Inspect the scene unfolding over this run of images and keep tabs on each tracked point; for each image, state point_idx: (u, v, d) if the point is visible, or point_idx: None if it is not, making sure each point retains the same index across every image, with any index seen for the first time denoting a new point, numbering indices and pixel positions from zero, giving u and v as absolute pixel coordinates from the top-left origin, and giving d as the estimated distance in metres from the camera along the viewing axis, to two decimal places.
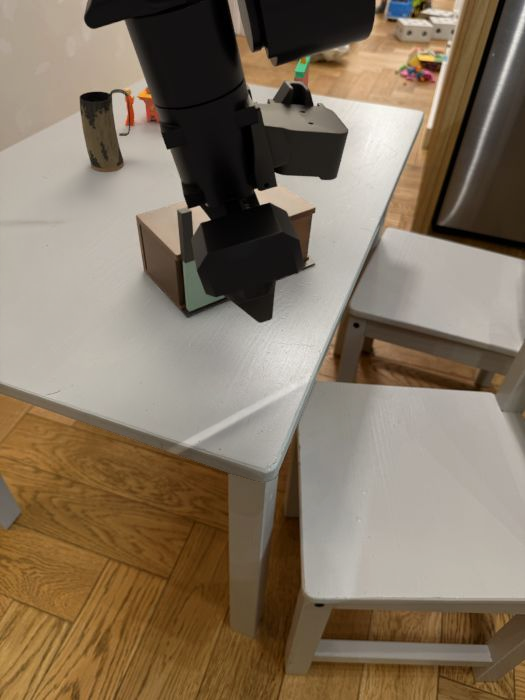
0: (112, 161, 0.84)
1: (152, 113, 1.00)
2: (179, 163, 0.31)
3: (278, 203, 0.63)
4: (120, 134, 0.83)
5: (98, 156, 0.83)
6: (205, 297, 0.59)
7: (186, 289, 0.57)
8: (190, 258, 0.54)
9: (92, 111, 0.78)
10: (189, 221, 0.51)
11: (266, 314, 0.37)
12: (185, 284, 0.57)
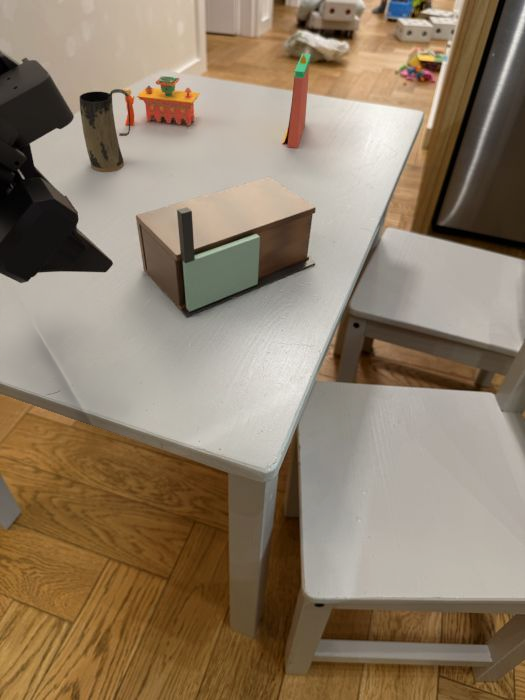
0: (112, 161, 0.84)
1: (152, 113, 1.00)
2: None
3: (278, 203, 0.63)
4: (120, 134, 0.83)
5: (98, 156, 0.83)
6: (205, 297, 0.59)
7: (186, 289, 0.57)
8: (190, 258, 0.54)
9: (92, 111, 0.78)
10: (189, 221, 0.51)
11: (104, 262, 0.41)
12: (185, 284, 0.57)
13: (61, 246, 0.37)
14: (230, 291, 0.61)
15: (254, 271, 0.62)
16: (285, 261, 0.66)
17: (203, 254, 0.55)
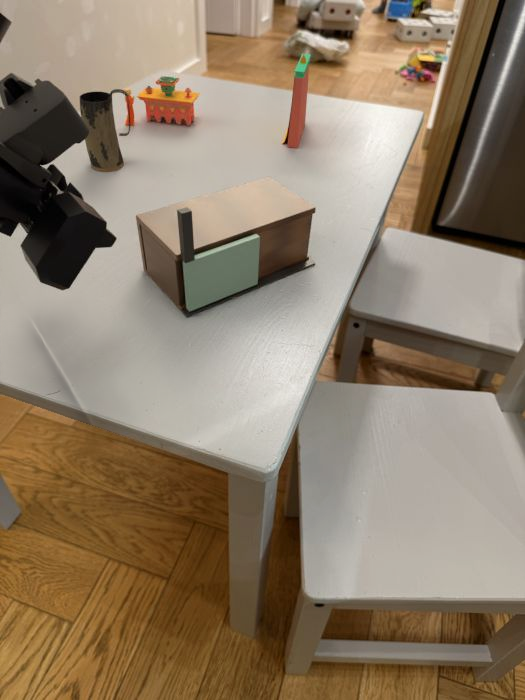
0: (112, 161, 0.84)
1: (152, 113, 1.00)
2: None
3: (278, 203, 0.63)
4: (120, 134, 0.83)
5: (98, 156, 0.83)
6: (205, 297, 0.59)
7: (186, 289, 0.57)
8: (190, 258, 0.54)
9: (92, 111, 0.78)
10: (189, 221, 0.51)
11: (108, 238, 0.46)
12: (185, 284, 0.57)
13: None
14: (230, 291, 0.61)
15: (254, 271, 0.62)
16: (285, 261, 0.66)
17: (203, 254, 0.55)
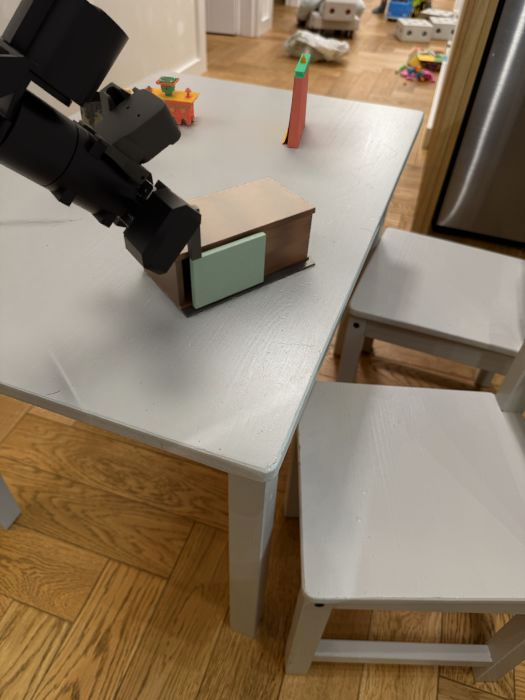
0: None
1: None
2: (81, 205, 0.42)
3: (278, 203, 0.63)
4: None
5: None
6: (211, 294, 0.59)
7: (193, 286, 0.57)
8: (197, 255, 0.54)
9: (92, 111, 0.78)
10: None
11: None
12: (192, 281, 0.57)
13: None
14: (236, 289, 0.61)
15: (260, 269, 0.62)
16: (285, 261, 0.66)
17: (210, 251, 0.56)
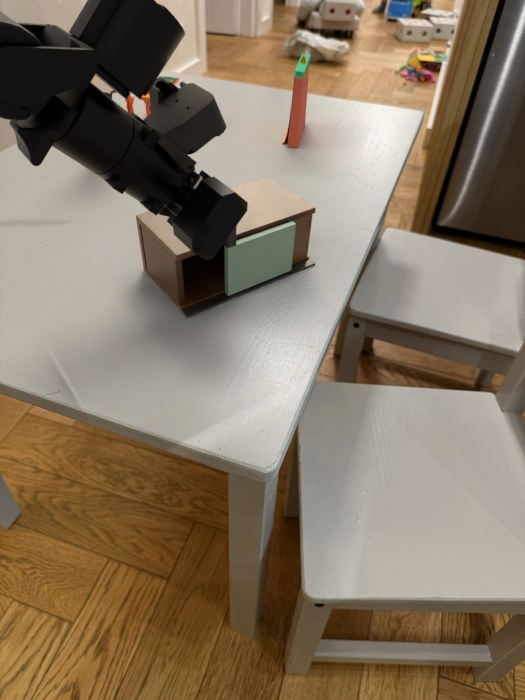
0: None
1: None
2: (132, 193, 0.44)
3: (278, 203, 0.63)
4: None
5: None
6: (243, 282, 0.62)
7: (226, 274, 0.59)
8: (232, 243, 0.56)
9: None
10: None
11: None
12: (225, 269, 0.59)
13: None
14: (266, 277, 0.64)
15: (289, 258, 0.64)
16: None
17: (244, 239, 0.58)
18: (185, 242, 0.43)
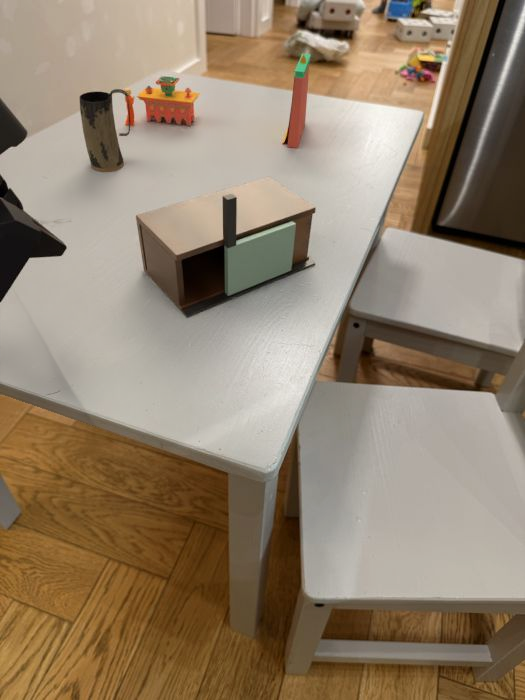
0: (112, 161, 0.84)
1: (152, 113, 1.00)
2: None
3: (278, 203, 0.63)
4: (120, 134, 0.83)
5: (98, 156, 0.83)
6: (243, 282, 0.62)
7: (226, 274, 0.59)
8: (232, 243, 0.56)
9: (92, 111, 0.78)
10: (234, 207, 0.53)
11: (57, 247, 0.44)
12: (225, 269, 0.59)
13: None
14: (266, 277, 0.64)
15: (289, 258, 0.64)
16: None
17: (244, 239, 0.58)
18: None
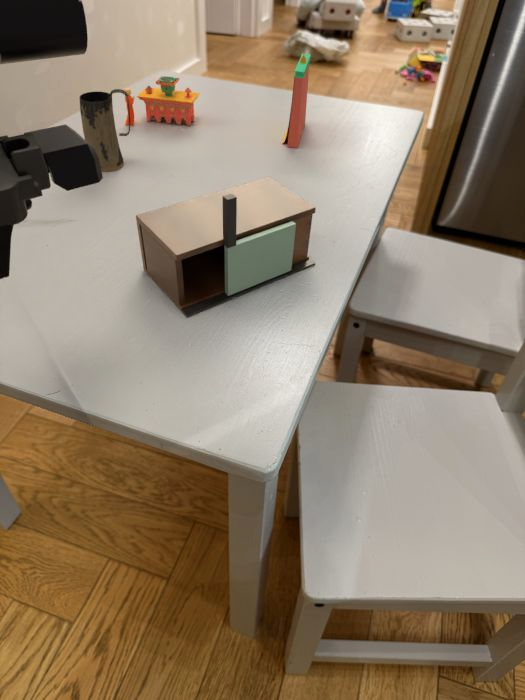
0: (112, 161, 0.84)
1: (152, 113, 1.00)
2: None
3: (278, 203, 0.63)
4: (120, 134, 0.83)
5: (98, 156, 0.83)
6: (243, 282, 0.62)
7: (226, 274, 0.59)
8: (232, 243, 0.56)
9: (92, 111, 0.78)
10: (234, 207, 0.53)
11: None
12: (225, 269, 0.59)
13: None
14: (266, 277, 0.64)
15: (289, 258, 0.64)
16: None
17: (244, 239, 0.58)
18: None
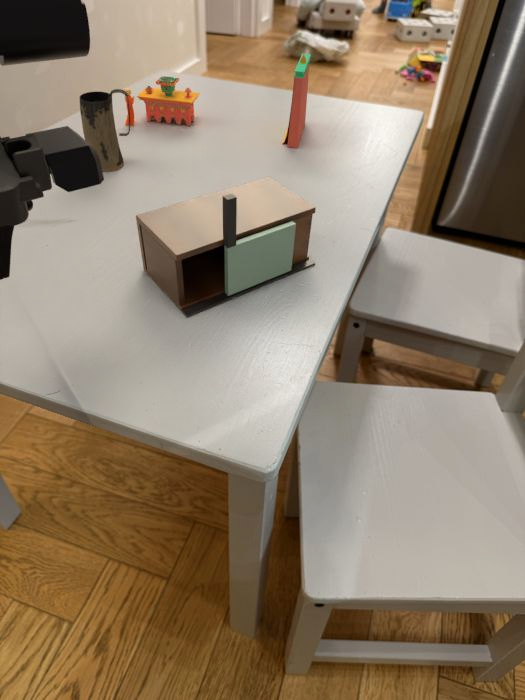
0: (112, 161, 0.84)
1: (152, 113, 1.00)
2: None
3: (278, 203, 0.63)
4: (120, 134, 0.83)
5: None
6: (243, 282, 0.62)
7: (226, 274, 0.59)
8: (232, 243, 0.56)
9: (92, 111, 0.78)
10: (234, 207, 0.53)
11: None
12: (225, 269, 0.59)
13: None
14: (266, 277, 0.64)
15: (289, 258, 0.64)
16: None
17: (244, 239, 0.58)
18: None
